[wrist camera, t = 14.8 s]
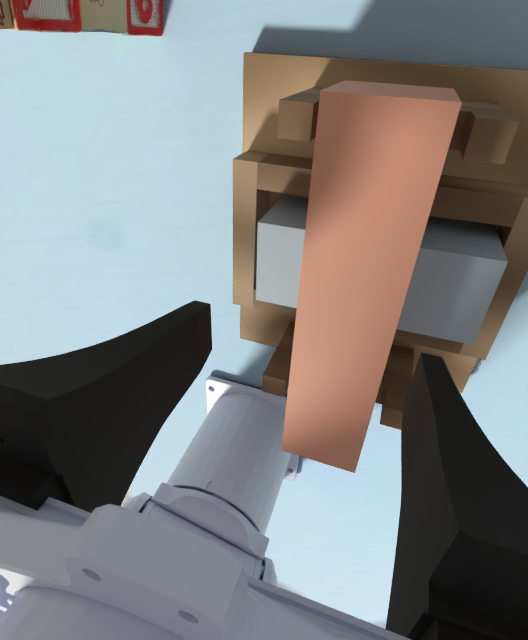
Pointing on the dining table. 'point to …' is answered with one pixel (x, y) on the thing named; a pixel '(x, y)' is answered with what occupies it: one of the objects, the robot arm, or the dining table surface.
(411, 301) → the pale grey pillar block
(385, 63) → the jig
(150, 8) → the stack of blocks
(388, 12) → the dining table surface
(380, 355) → the terracotta rectangular bar
